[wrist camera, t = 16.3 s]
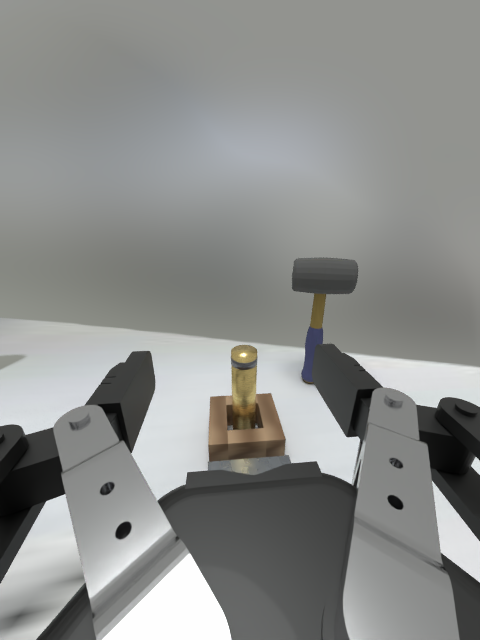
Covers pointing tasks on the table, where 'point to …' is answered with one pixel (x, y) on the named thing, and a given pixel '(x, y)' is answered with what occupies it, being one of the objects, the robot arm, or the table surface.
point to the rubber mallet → (321, 294)
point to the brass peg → (243, 386)
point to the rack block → (244, 431)
